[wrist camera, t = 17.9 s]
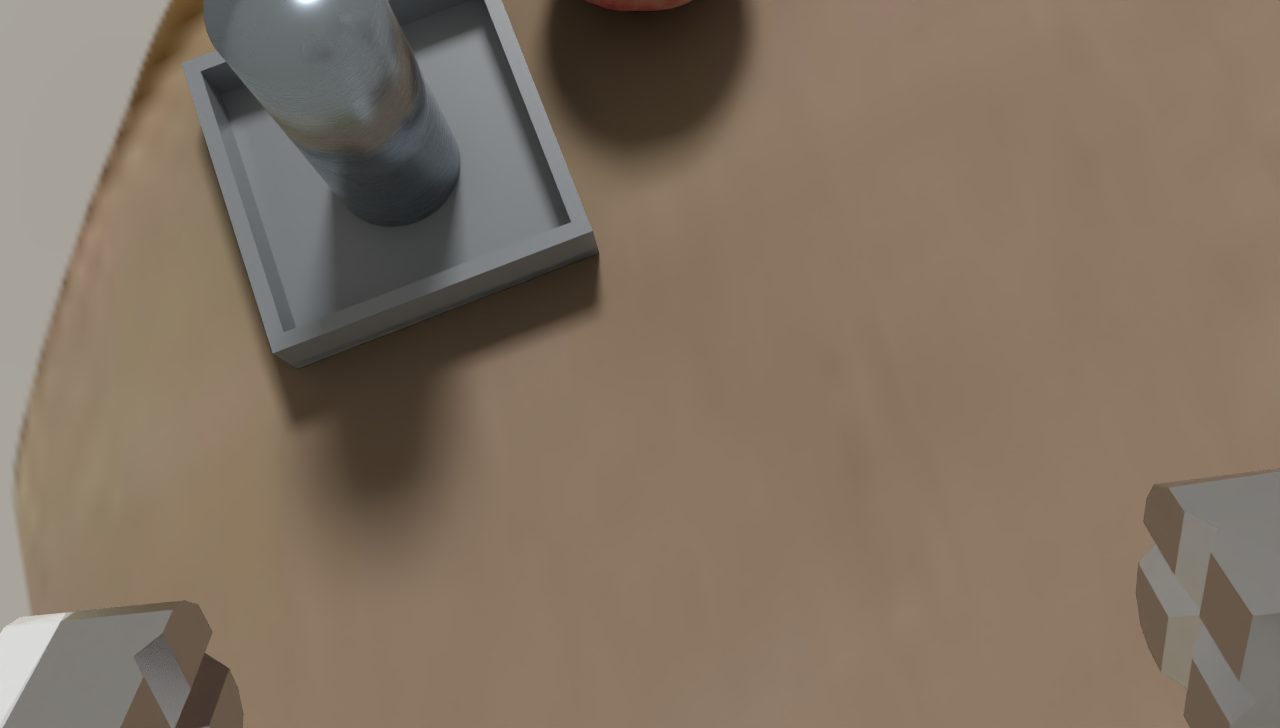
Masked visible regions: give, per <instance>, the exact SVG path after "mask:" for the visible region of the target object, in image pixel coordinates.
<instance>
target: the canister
mask: <svg viewBox="0 0 1280 728" xmlns="http://www.w3.org/2000/svg"><path fill="white" fill-rule="evenodd" d="M203 11H204V22H205V26H206V30H207V33H208V35H209V38H210V40H211V42H212V44H213V45H214V47H215V49H216V50H217V51H218V53H219V54H220V55H221V56H222V58H223V59H224V60H225V61H226V62H227V64H228V65H229V66H230V67H231V68H232V70H233V71H234V72H235V73H236V74H237V76H238V77H239V78H240V79H241V81H242V82H243V83H244V84H245V85H246V87H247V88H248V89H249V90H250V91H251V93H252V94H253V95H254V96H255V97H256V99H257V100H258V101H259V102H260V104H261V105H262V106H263V107H264V108H265V110H266V111H267V112H268V113H269V114H270V116H271V117H272V118H273V119H274V120H275V122H276V123H277V124H278V125H279V127H280V128H281V129H282V130H283V131H284V133H285V134H286V135H287V136H288V137H289V139H290V140H291V141H292V142H293V143H294V145H295V146H296V147H297V148H298V150H299V151H300V152H301V153H302V154H303V156H304V157H305V158H306V159H307V160H308V162H309V163H310V164H311V165H312V166H313V168H314V169H315V170H316V171H317V173H318V174H319V175H320V176H321V177H322V179H323V180H324V181H325V182H326V183H327V185H328V186H329V187H330V188H331V189H332V191H333V192H334V193H335V194H336V196H337V197H338V198H339V199H340V200H341V202H342V203H343V204H344V205H345V206H346V208H347V209H348V210H349V211H351V212H352V213H353V214H354V215H356V216H357V217H358V218H360V219H362V220H364V221H366V222H369V223H371V224H374V225H379V226H386V227H399V226H405V225H409V224H413V223H416V222H418V221H421V220H423V219H425V218H427V217H428V216H430V215H432V214H433V213H434V212H435V211H437V210H438V209H439V208H440V207H441V206H442V205H443V204H444V203H445V202H446V200H447V199H448V198H449V197H450V195H451V193H452V192H453V190H454V188H455V186H456V183H457V180H458V177H459V172H460V151H459V147H458V144H457V141H456V139H455V137H454V135H453V133H452V131H451V128H450V126H449V124H448V122H447V120H446V118H445V116H444V114H443V112H442V110H441V108H440V106H439V104H438V102H437V100H436V98H435V96H434V94H433V92H432V90H431V88H430V86H429V84H428V82H427V80H426V78H425V76H424V74H423V72H422V70H421V68H420V66H419V63H418V61H417V59H416V57H415V55H414V53H413V51H412V49H411V47H410V45H409V43H408V41H407V39H406V37H405V35H404V33H403V31H402V29H401V27H400V25H399V23H398V21H397V19H396V17H395V15H394V13H393V11H392V9H391V7H390V5H389V3H388V0H204V9H203Z"/></svg>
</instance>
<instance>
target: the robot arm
mask: <svg viewBox="0 0 1280 728" xmlns="http://www.w3.org/2000/svg"><path fill="white" fill-rule="evenodd" d="M1143 523H1144V524H1145V526H1146V528H1147V529H1148V531H1149V533H1150V534H1151V536H1152V538H1153V540H1154V541H1155V543H1156V544H1155V545H1154V546H1153V547H1152V548H1151V549H1150V551H1149V552H1148V553H1147V554H1146V555H1145V556H1144V557H1143V558H1142V559H1141V560H1140V561H1139V562H1138V571H1137V584H1136V598H1137V605H1138V612H1139V619H1140V625H1141V628H1142V631H1143V634H1144V637H1145V640H1146V642H1147V645H1148V648H1149V650H1150V652H1151V654H1152V656H1153V658H1154V660H1155V662H1156V664H1157V666H1158V668H1159V670H1160V672H1161V673H1162V674H1164V675H1165V676H1167V677H1169V678H1170V679H1172V680H1173V681H1175V682H1177V683H1178V684H1180V685H1181V686H1183V687H1185V688H1186V689H1187V696H1186V702H1185V709H1184V717H1185V719H1186V721H1187V723H1188V725H1189V727H1190V728H1280V467H1279V468H1277V469H1276V470H1263V471H1255V472H1247V473H1239V474H1231V475H1223V476H1215V477H1207V478H1200V479H1192V480H1184V481H1176V482H1168V483H1160V484H1154V485H1153V487H1152V489H1151V491H1150V493H1149V495H1148V497H1147V499H1146V506H1145V513H1144V520H1143ZM211 635H212V630H211V628H210V626H209V624H208V622H207V620H206V618H205V616H204V614H203V612H202V611H201V609H200V607H199V605H198V604H195V603H192V602H188V601H185V600H183V601H172V602H162V603H151V604H141V605H130V606H120V607H110V608H99V609H89V610H78V611H75V612H74V613H59V614H48V615H38V616H27V617H21V618H19V619H17V620H16V621H14V622H12V623H11V624H9V625H7V626H6V627H4V629H3V631H2V632H1V634H0V728H243V710H242V705H241V700H240V695H239V690H238V687H237V685H236V682H235V680H234V678H233V675H232V673H231V671H230V669H229V668H228V667H226V666H225V665H223V664H222V663H220V662H219V661H217V660H215V659H214V658H212V657H211V656H209V655H208V654H206V653H205V651H206V648H207V645H208V643H209V640H210V638H211Z"/></svg>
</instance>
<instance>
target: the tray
mask: <svg viewBox="0 0 1280 728" xmlns="http://www.w3.org/2000/svg"><path fill="white" fill-rule="evenodd" d="M388 3H389V5H390V7H391V9H392V11H393V13H394V15H395V17H396V19H397V21H398V23H399V25H400V27H401V29H402V31H403V33H404V35H405V37H406V39H407V41H408V43H409V45H410V47H411V49H412V51H413V53H414V55H415V57H416V59H417V61H418V63H419V66H420V68H421V70H422V72H423V74H424V76H425V78H426V80H427V82H428V84H429V86H430V88H431V90H432V92H433V94H434V96H435V98H436V100H437V102H438V104H439V106H440V108H441V110H442V112H443V114H444V116H445V118H446V120H447V122H448V124H449V126H450V128H451V131H452V133H453V135H454V137H455V139H456V141H457V144H458V147H459V151H460V172H459V177H458V180H457V183H456V186H455V188H454V190H453V192H452V193H451V195H450V197H449V198H448V199H447V200H446V202H445V203H444V204H443V205H442V206H441V207H440V208H439V209H438V210H437V211H435V212H434V213H433V214H432V215H430V216H428V217H427V218H425V219H423V220H421V221H418V222H416V223H413V224H409V225H405V226H399V227H386V226H379V225H374V224H371V223H369V222H366V221H364V220H362V219H360V218H358V217H357V216H356V215H354V214H353V213H352V212H351V211H349V210H348V209H347V208H346V206H345V205H344V204H343V203H342V202H341V200H340V199H339V198H338V197H337V196H336V194H335V193H334V192H333V191H332V189H331V188H330V187H329V186H328V185H327V183H326V182H325V181H324V180H323V179H322V177H321V176H320V175H319V174H318V173H317V171H316V170H315V169H314V168H313V166H312V165H311V164H310V163H309V162H308V160H307V159H306V158H305V157H304V156H303V154H302V153H301V152H300V151H299V150H298V148H297V147H296V146H295V145H294V143H293V142H292V141H291V140H290V139H289V137H288V136H287V135H286V134H285V133H284V131H283V130H282V129H281V128H280V127H279V125H278V124H277V123H276V122H275V120H274V119H273V118H272V117H271V116H270V114H269V113H268V112H267V111H266V110H265V108H264V107H263V106H262V105H261V104H260V102H259V101H258V100H257V99H256V97H255V96H254V95H253V94H252V93H251V91H250V90H249V89H248V88H247V87H246V85H245V84H244V83H243V82H242V81H241V79H240V78H239V77H238V76H237V74H236V73H235V72H234V71H233V70H232V68H231V67H230V66H229V65H228V64H227V62H226V61H225V60H224V59H223V58H222V56H221V55H220V54H219V53H218V51H217V50H216V51H213V52H211V53H208V54H205V55H203V56H200V57H197V58H195V59H192V60H189V61H187V62H184V63H181V64H182V67H183V70H184V73H185V77H186V80H187V83H188V86H189V89H190V92H191V96H192V99H193V102H194V105H195V108H196V112H197V115H198V118H199V121H200V124H201V127H202V131H203V134H204V137H205V140H206V143H207V146H208V150H209V153H210V156H211V159H212V162H213V165H214V169H215V172H216V175H217V178H218V181H219V185H220V188H221V191H222V194H223V197H224V200H225V204H226V207H227V210H228V213H229V216H230V219H231V223H232V226H233V229H234V232H235V235H236V238H237V242H238V245H239V248H240V251H241V254H242V258H243V261H244V264H245V267H246V270H247V273H248V277H249V280H250V283H251V286H252V289H253V292H254V296H255V299H256V302H257V305H258V308H259V311H260V315H261V318H262V321H263V324H264V327H265V331H266V334H267V337H268V340H269V343H270V346H271V350H272V353H273V354H274V355H276V356H277V357H279V358H281V359H282V360H284V361H285V362H287V363H288V364H290V365H292V366H293V367H295V368H296V369H298V368H301V367H303V366H306V365H308V364H311V363H314V362H316V361H319V360H321V359H324V358H327V357H329V356H332V355H334V354H337V353H340V352H342V351H345V350H348V349H350V348H353V347H355V346H358V345H361V344H363V343H366V342H368V341H371V340H374V339H376V338H379V337H381V336H384V335H387V334H389V333H392V332H394V331H397V330H400V329H402V328H405V327H407V326H410V325H413V324H415V323H418V322H420V321H423V320H426V319H428V318H431V317H433V316H436V315H439V314H441V313H444V312H447V311H449V310H452V309H454V308H457V307H460V306H462V305H465V304H467V303H470V302H473V301H475V300H478V299H480V298H483V297H486V296H488V295H491V294H493V293H496V292H499V291H501V290H504V289H506V288H509V287H512V286H514V285H517V284H519V283H522V282H525V281H527V280H530V279H532V278H535V277H538V276H540V275H543V274H546V273H548V272H551V271H553V270H556V269H559V268H561V267H564V266H566V265H569V264H572V263H574V262H577V261H579V260H582V259H585V258H587V257H590V256H592V255H595V254H598V253H599V251H598V247H597V244H596V241H595V237H594V234H593V230H592V228H591V225H590V223H589V220H588V218H587V215H586V213H585V210H584V208H583V205H582V203H581V200H580V198H579V195H578V193H577V190H576V187H575V185H574V182H573V180H572V177H571V175H570V172H569V170H568V167H567V165H566V162H565V160H564V157H563V155H562V152H561V150H560V147H559V144H558V142H557V139H556V137H555V134H554V132H553V129H552V127H551V124H550V122H549V119H548V117H547V114H546V112H545V109H544V107H543V104H542V102H541V99H540V96H539V94H538V91H537V89H536V86H535V84H534V81H533V79H532V76H531V74H530V71H529V69H528V66H527V64H526V61H525V59H524V56H523V53H522V51H521V48H520V46H519V43H518V41H517V38H516V36H515V33H514V31H513V28H512V26H511V23H510V21H509V18H508V16H507V13H506V10H505V8H504V5H503V3H502V0H388Z"/></svg>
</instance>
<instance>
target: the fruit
mask: <svg viewBox="0 0 1280 728" xmlns="http://www.w3.org/2000/svg"><path fill="white" fill-rule="evenodd" d="M585 1H587V2H590V3H592V4H595V5H597V6H600V7H602V8H607V9H612V10H617V11H658V10H665V9H672V8H675V7H678V6H681V5H684V4H687V3H689V2H690V1H692V0H585Z"/></svg>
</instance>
